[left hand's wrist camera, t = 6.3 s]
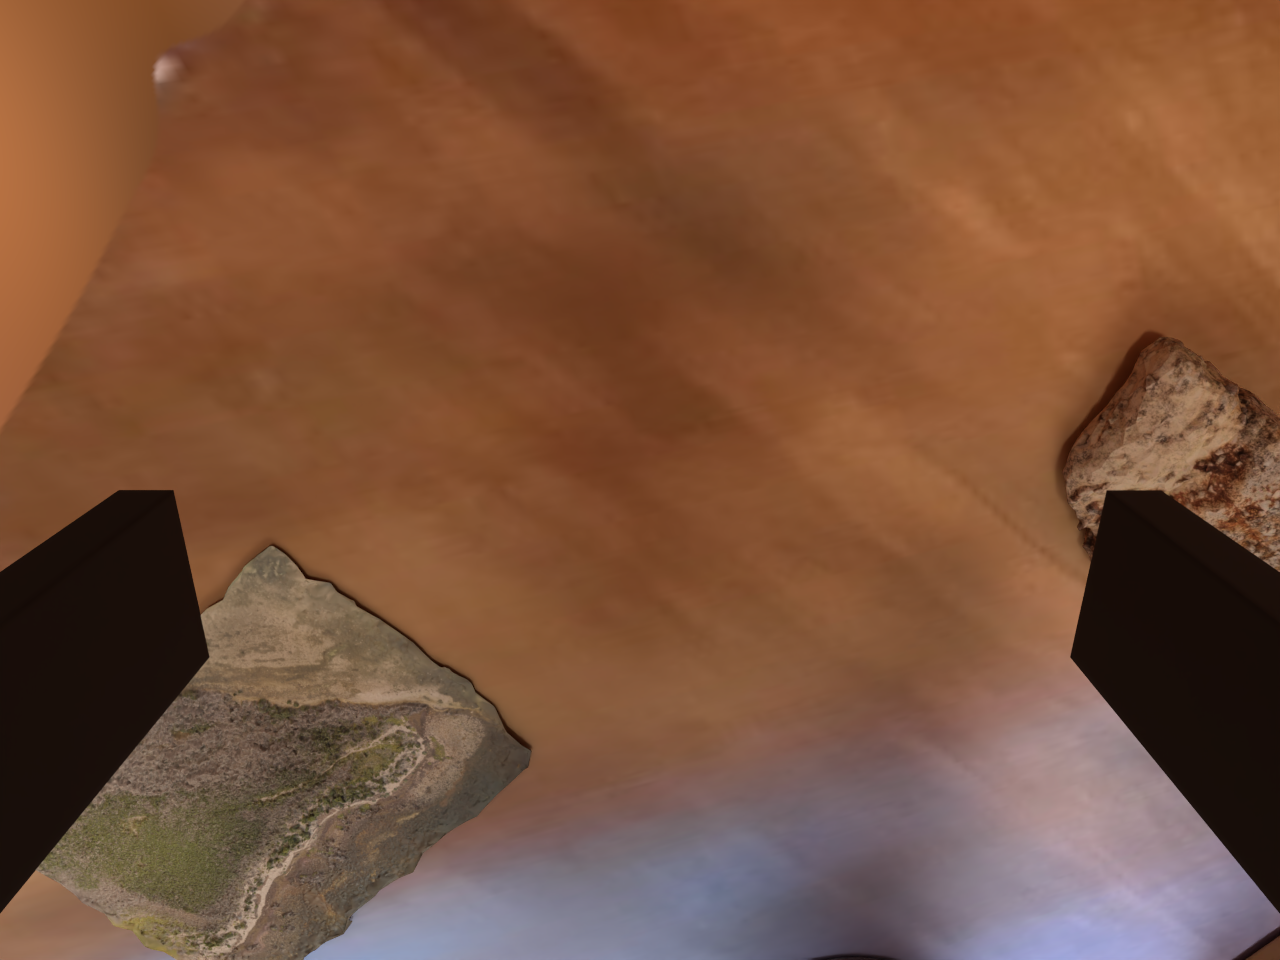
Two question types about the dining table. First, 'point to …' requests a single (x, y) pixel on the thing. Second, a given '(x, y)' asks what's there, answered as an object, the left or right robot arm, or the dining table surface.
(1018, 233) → the dining table surface
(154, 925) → the slab
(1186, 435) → the rock
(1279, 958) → the decorative block
